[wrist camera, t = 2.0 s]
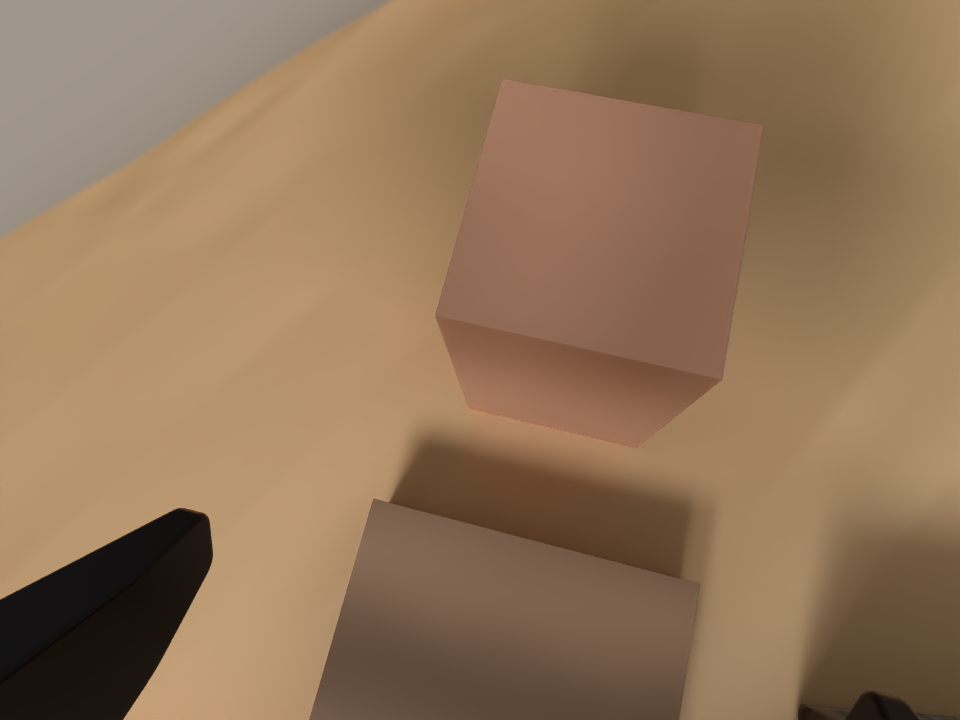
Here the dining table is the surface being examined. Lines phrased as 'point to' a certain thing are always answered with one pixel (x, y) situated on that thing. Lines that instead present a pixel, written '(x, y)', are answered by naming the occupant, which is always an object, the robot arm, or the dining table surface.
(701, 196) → the reddish brown block
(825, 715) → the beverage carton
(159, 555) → the robot arm
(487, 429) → the dining table surface
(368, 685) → the walnut block
